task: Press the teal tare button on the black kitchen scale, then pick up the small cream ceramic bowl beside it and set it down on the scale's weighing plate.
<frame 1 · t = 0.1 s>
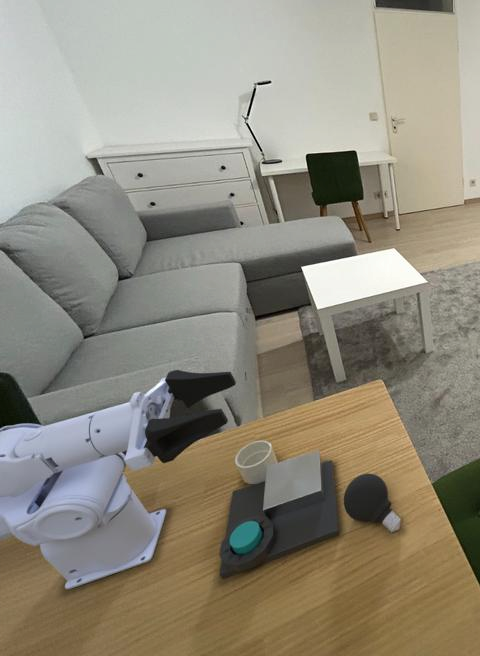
hand: (228, 395, 52), 22 cm above the table, tool horizontal, fingers open, 7 cm apart
weighing plate: (299, 493, 63), resting on scale
scale: (285, 515, 60), on the table
light bulb: (376, 513, 60), on the table
tare button: (246, 537, 53), point 3 cm above the table, slide at 0.1 cm
bowl: (261, 471, 66), on the table
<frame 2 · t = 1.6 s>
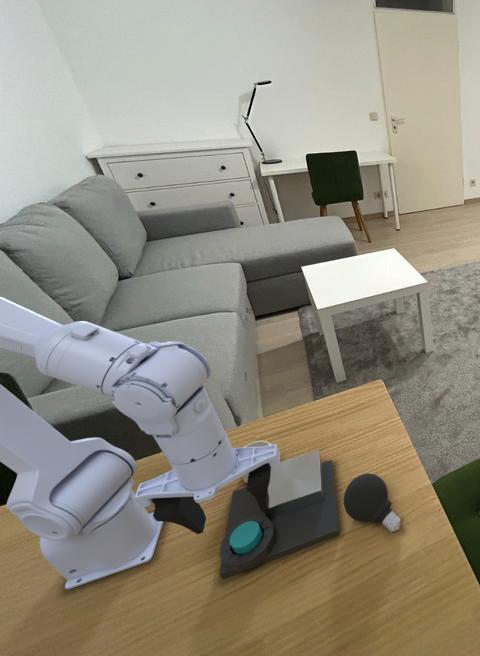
hand: (234, 515, 51), 8 cm above the table, tool pointing down, fingers open, 7 cm apart
nothing on the table moved.
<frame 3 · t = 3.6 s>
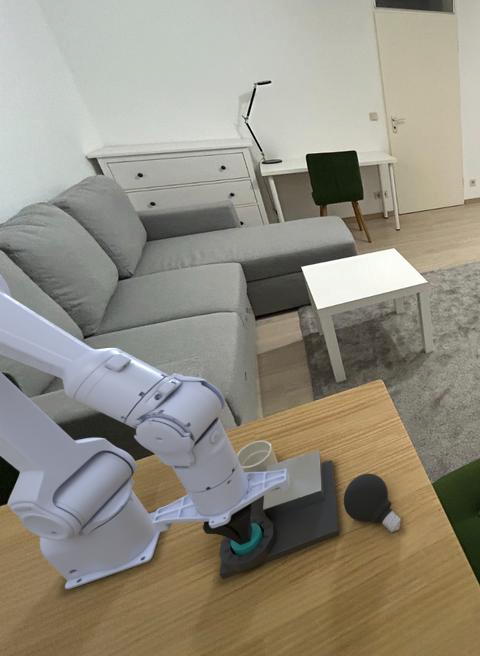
hand: (245, 536, 53), 4 cm above the table, tool pointing down, fingers closed, pressing on tare button
tare button: (247, 539, 54), point 3 cm above the table, slide at -0.4 cm, touching gripper
everything else where it was.
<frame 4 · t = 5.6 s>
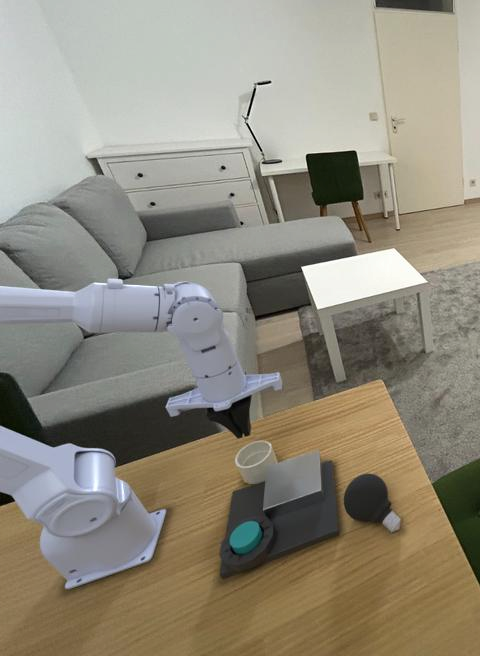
hand: (244, 432, 62), 9 cm above the table, tool pointing down, fingers closed
tare button: (246, 537, 53), point 3 cm above the table, slide at 0.1 cm
everything else where it was.
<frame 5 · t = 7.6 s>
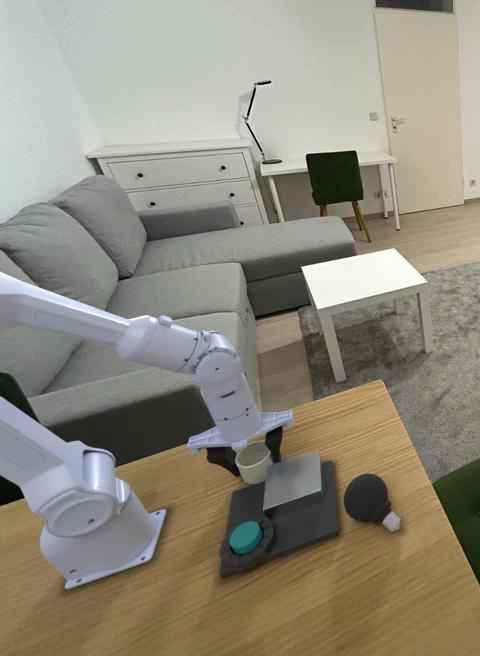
hand: (258, 466, 66), 1 cm above the table, tool pointing down, fingers closed on bowl, 5 cm apart
bowl: (261, 471, 66), on the table, touching gripper
everything else where it was.
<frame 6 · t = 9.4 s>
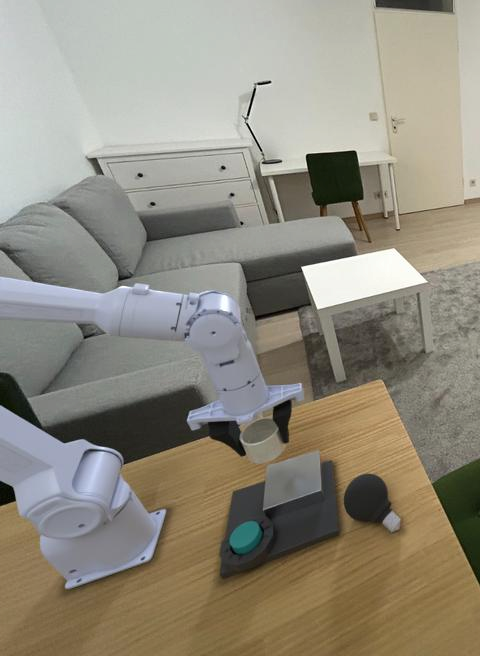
hand: (265, 444, 60), 9 cm above the table, tool pointing down, fingers closed on bowl, 5 cm apart
bowl: (268, 450, 61), point 8 cm above the table, touching gripper
everything else where it was.
when the fingers open (5 cm above the table, at t = 11.2 s): bowl stays where it is, resting on weighing plate.
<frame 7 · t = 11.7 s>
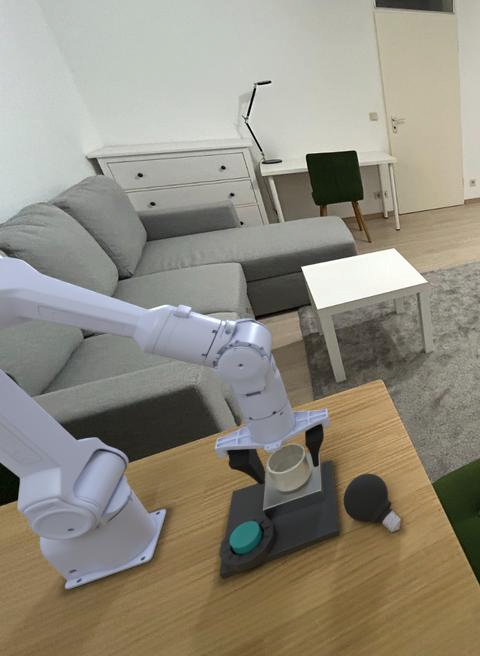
hand: (290, 469, 60), 6 cm above the table, tool pointing down, fingers open, 7 cm apart
bowl: (293, 477, 61), point 4 cm above the table, touching weighing plate
everything else where it was.
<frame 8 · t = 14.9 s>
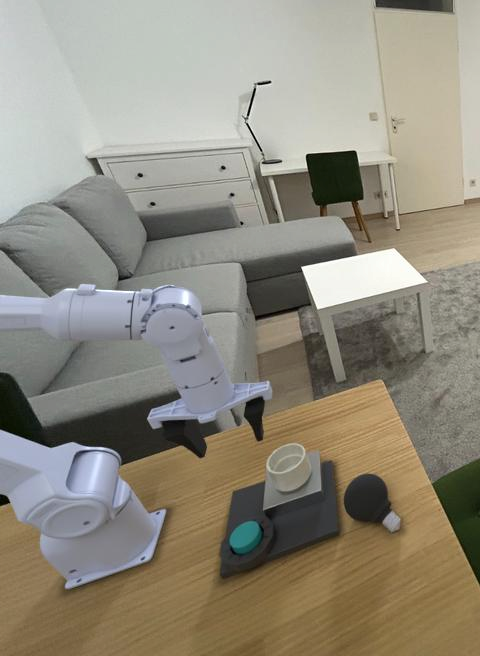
hand: (232, 444, 59), 10 cm above the table, tool pointing down, fingers open, 7 cm apart
nothing on the table moved.
at the end: tare button pushed in 1.0 cm at the most during the clip, back to where it started at the end; tare button slide at 0.1 cm; bowl 0.1 cm off-centre on the weighing plate, point 4.0 cm above the weighing plate's base; bowl tilted 0° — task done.
